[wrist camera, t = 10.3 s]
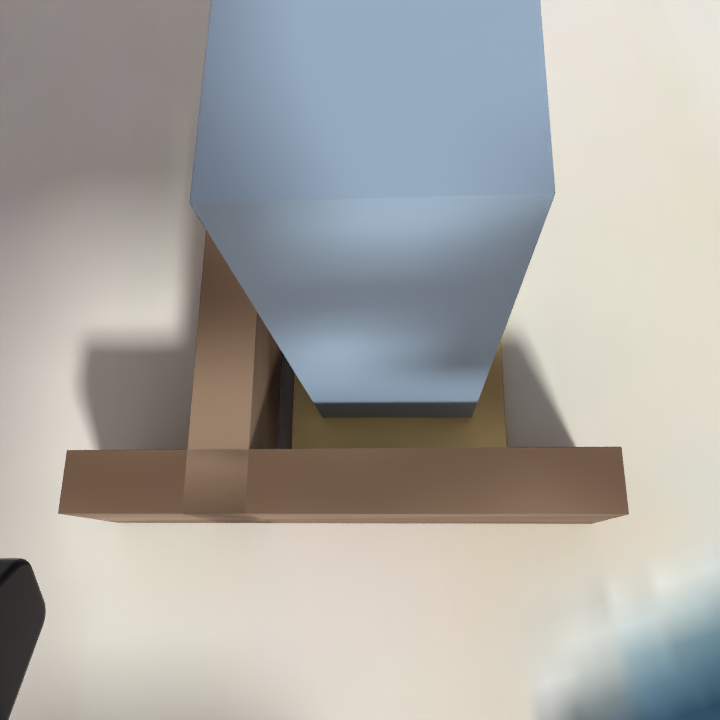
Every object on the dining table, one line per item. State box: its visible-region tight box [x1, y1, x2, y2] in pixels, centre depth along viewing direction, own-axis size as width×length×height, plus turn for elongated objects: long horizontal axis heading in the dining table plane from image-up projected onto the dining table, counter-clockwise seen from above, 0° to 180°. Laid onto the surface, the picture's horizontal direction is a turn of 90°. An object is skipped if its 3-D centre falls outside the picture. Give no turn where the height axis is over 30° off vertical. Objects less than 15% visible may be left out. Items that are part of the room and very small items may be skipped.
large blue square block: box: [190, 0, 555, 418], centre depth 15 cm, size 4×4×12 cm
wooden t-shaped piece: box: [58, 230, 629, 524], centre depth 20 cm, size 12×14×4 cm
